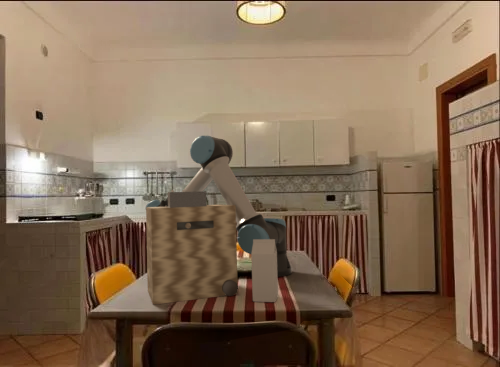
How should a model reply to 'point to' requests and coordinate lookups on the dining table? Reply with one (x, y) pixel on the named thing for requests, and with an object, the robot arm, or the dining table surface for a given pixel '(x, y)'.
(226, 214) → the zigzag patterned box
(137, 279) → the dining table surface
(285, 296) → the dining table surface
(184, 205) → the t handle
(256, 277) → the milk carton
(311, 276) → the dining table surface
